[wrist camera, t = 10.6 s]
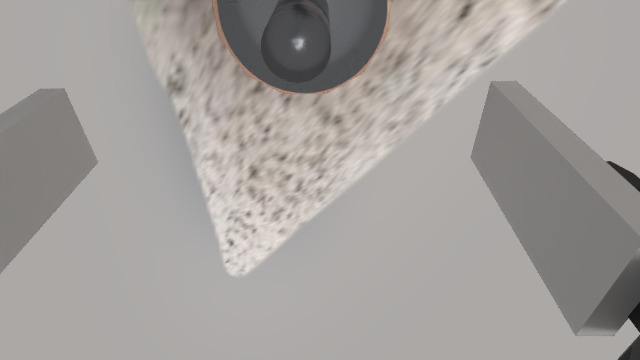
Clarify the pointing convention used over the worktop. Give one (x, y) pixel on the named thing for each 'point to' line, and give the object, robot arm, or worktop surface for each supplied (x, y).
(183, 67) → the worktop surface
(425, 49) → the worktop surface
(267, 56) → the lid
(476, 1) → the worktop surface
